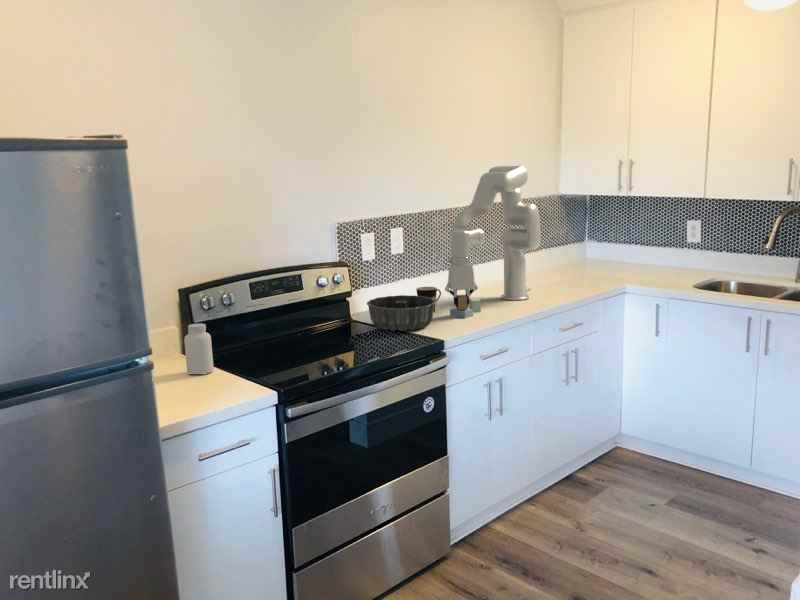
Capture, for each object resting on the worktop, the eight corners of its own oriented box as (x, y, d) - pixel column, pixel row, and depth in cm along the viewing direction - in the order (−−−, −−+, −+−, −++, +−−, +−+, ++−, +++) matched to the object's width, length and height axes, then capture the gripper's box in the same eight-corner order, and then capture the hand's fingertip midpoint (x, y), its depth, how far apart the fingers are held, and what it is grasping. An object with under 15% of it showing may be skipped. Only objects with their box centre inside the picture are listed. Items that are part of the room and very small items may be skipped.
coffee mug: (420, 314, 300) (419, 290, 298) (414, 311, 308) (413, 287, 306) (447, 312, 303) (446, 288, 301) (440, 308, 311) (440, 285, 309)
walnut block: (456, 307, 297) (455, 295, 296) (464, 306, 297) (464, 294, 296) (458, 309, 291) (458, 297, 290) (467, 309, 291) (467, 296, 291)
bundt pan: (451, 325, 279) (450, 299, 277) (401, 338, 261) (400, 310, 259) (402, 316, 298) (402, 292, 296) (353, 328, 280) (352, 302, 278)
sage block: (469, 309, 307) (469, 298, 306) (477, 309, 307) (477, 297, 306) (472, 312, 301) (472, 300, 300) (480, 312, 301) (480, 300, 300)
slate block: (450, 316, 296) (450, 309, 295) (458, 314, 299) (458, 307, 299) (465, 319, 290) (465, 311, 290) (473, 316, 294) (473, 309, 293)
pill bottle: (216, 368, 230) (212, 321, 227) (210, 375, 222) (206, 327, 220) (190, 369, 230) (186, 322, 227) (184, 376, 222) (179, 328, 219)
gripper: (441, 263, 286) (442, 309, 290) (482, 261, 288) (483, 306, 291) (438, 260, 294) (439, 305, 297) (479, 258, 295) (479, 303, 298)
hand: (461, 305), depth 294 cm, fingers closed on walnut block, 3 cm apart
